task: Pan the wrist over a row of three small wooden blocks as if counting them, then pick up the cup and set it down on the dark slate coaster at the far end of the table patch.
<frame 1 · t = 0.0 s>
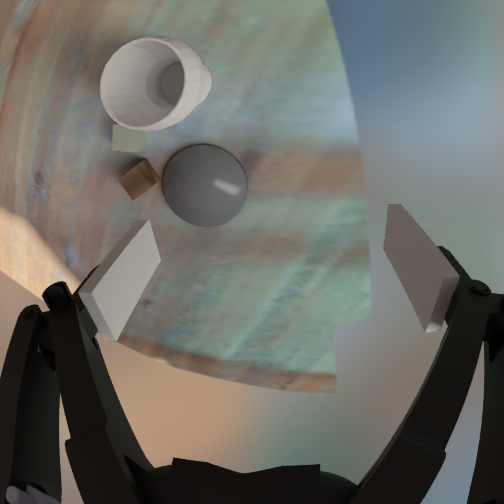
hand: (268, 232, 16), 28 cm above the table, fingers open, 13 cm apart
block b: (136, 133, 40), on the table
cup: (185, 83, 36), on the table
coaster: (204, 186, 44), on the table
block c: (144, 175, 43), on the table
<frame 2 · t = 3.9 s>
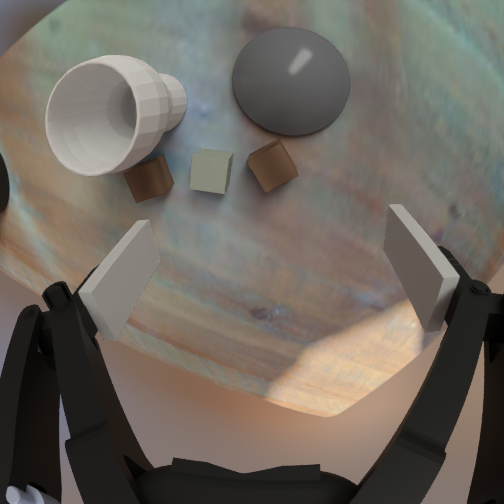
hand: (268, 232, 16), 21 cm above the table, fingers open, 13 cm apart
block b: (215, 165, 35), on the table
cup: (157, 103, 31), on the table
block a: (155, 173, 36), on the table
coaster: (291, 80, 29), on the table
block c: (273, 160, 34), on the table
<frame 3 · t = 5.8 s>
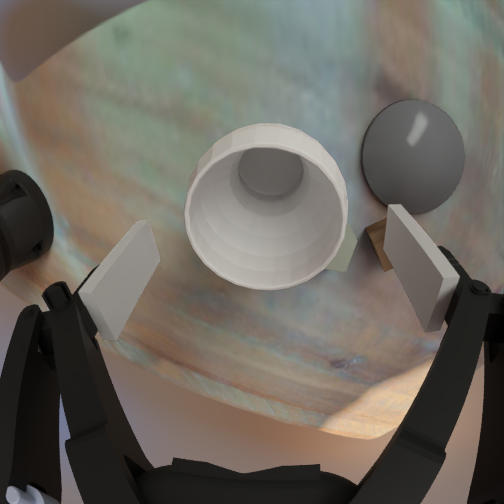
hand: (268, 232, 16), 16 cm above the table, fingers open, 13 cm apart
block b: (328, 236, 34), on the table
cup: (271, 161, 30), on the table
coaster: (415, 157, 27), on the table
block c: (385, 234, 33), on the table
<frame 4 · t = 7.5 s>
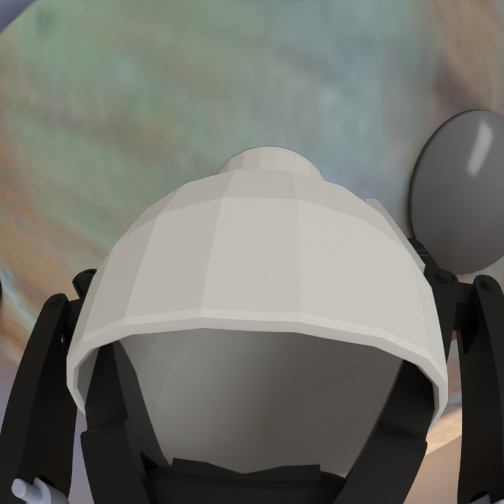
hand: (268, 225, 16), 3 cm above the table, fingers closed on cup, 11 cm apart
cup: (269, 204, 19), on the table, touching gripper
coaster: (479, 195, 17), on the table
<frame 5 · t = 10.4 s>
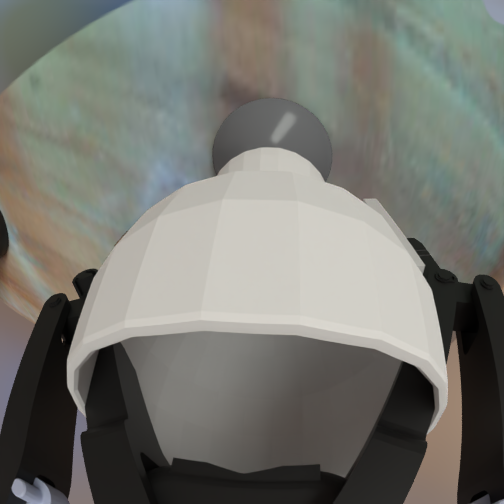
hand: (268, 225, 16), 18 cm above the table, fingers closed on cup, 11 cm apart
cup: (269, 204, 19), point 15 cm above the table, touching gripper
coaster: (272, 155, 31), on the table
when the fingers open (6 cm above the table, at t = 13.1 s): cup drops 2 cm, resting on coaster.
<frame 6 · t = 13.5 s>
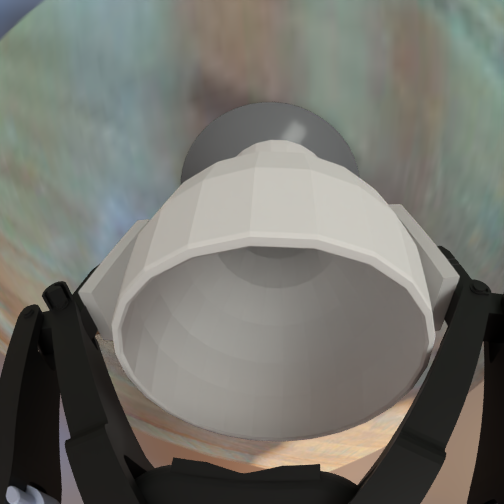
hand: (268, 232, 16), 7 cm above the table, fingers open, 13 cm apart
cup: (277, 192, 21), point 1 cm above the table, touching coaster
coaster: (270, 190, 21), on the table
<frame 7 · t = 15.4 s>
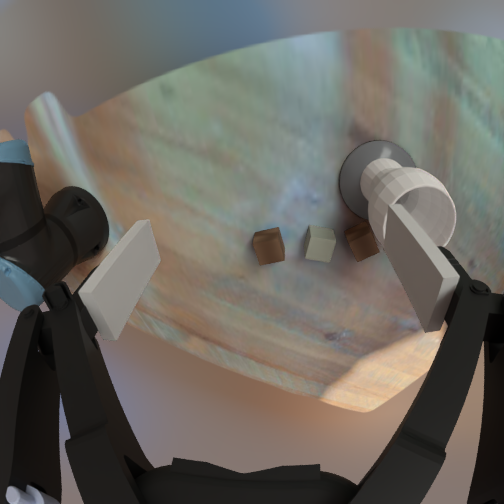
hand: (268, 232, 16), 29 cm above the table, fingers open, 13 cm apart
block b: (318, 237, 48), on the table
cup: (383, 181, 41), point 1 cm above the table, touching coaster
block a: (270, 239, 49), on the table
coaster: (379, 181, 42), on the table
block c: (359, 235, 47), on the table
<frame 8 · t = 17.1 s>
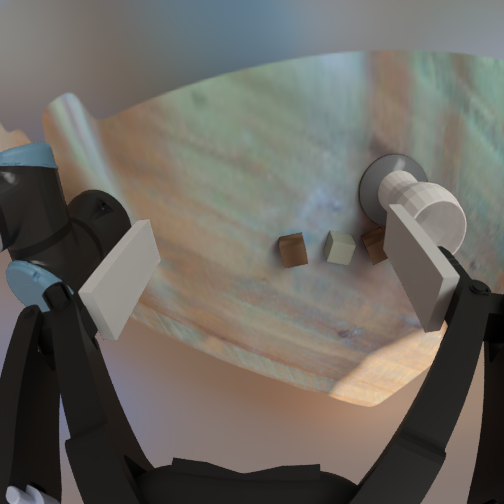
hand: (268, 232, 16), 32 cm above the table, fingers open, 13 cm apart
block b: (337, 242, 51), on the table
cup: (398, 191, 44), point 1 cm above the table, touching coaster
block a: (292, 244, 52), on the table
coaster: (394, 190, 45), on the table
block c: (374, 240, 50), on the table
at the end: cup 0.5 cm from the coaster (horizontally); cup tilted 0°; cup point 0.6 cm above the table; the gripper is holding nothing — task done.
